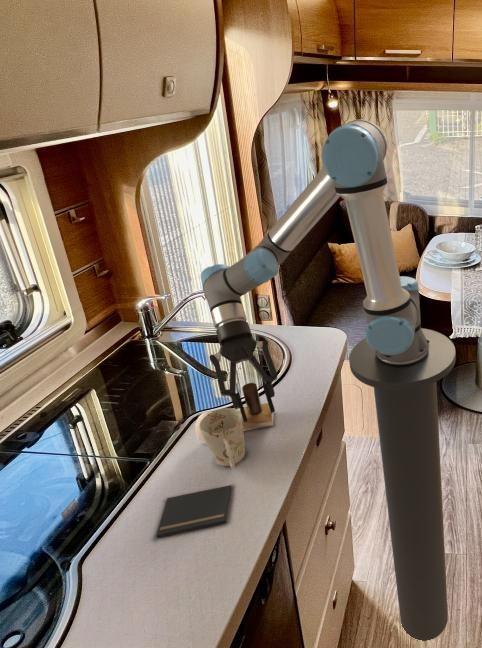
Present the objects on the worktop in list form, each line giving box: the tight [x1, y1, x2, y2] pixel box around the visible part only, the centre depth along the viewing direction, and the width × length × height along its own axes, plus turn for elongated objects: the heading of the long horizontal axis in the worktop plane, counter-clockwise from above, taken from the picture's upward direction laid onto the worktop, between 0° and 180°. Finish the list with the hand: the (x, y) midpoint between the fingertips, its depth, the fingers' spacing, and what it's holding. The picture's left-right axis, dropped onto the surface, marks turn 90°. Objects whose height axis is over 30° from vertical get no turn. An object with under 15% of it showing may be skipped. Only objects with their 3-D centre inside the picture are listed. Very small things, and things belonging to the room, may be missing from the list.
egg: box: [194, 410, 214, 445], centre depth 112 cm, size 6×6×8 cm
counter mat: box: [155, 484, 232, 538], centre depth 96 cm, size 12×9×1 cm
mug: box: [199, 407, 246, 469], centre depth 105 cm, size 8×13×10 cm, turn 33°
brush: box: [239, 382, 275, 432], centre depth 117 cm, size 7×5×10 cm, turn 103°
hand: (259, 415), depth 115 cm, fingers open, 5 cm apart
